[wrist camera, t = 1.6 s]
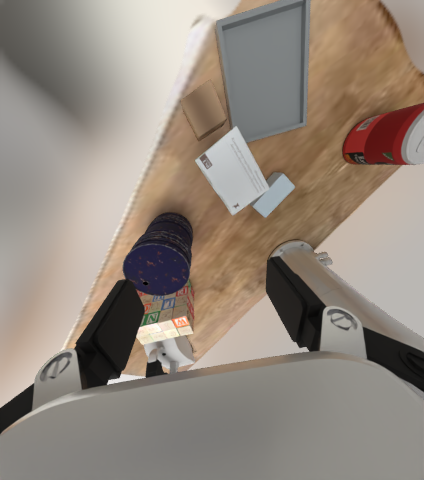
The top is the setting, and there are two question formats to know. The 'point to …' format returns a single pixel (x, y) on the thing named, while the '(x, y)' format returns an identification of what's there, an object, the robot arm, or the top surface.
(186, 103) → the walnut block
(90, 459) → the robot arm
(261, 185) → the skincare box
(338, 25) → the top surface
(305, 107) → the slate tray
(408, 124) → the canned food
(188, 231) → the storage jar
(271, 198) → the blue-grey painted block
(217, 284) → the top surface
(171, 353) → the iron
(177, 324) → the stack of blocks
